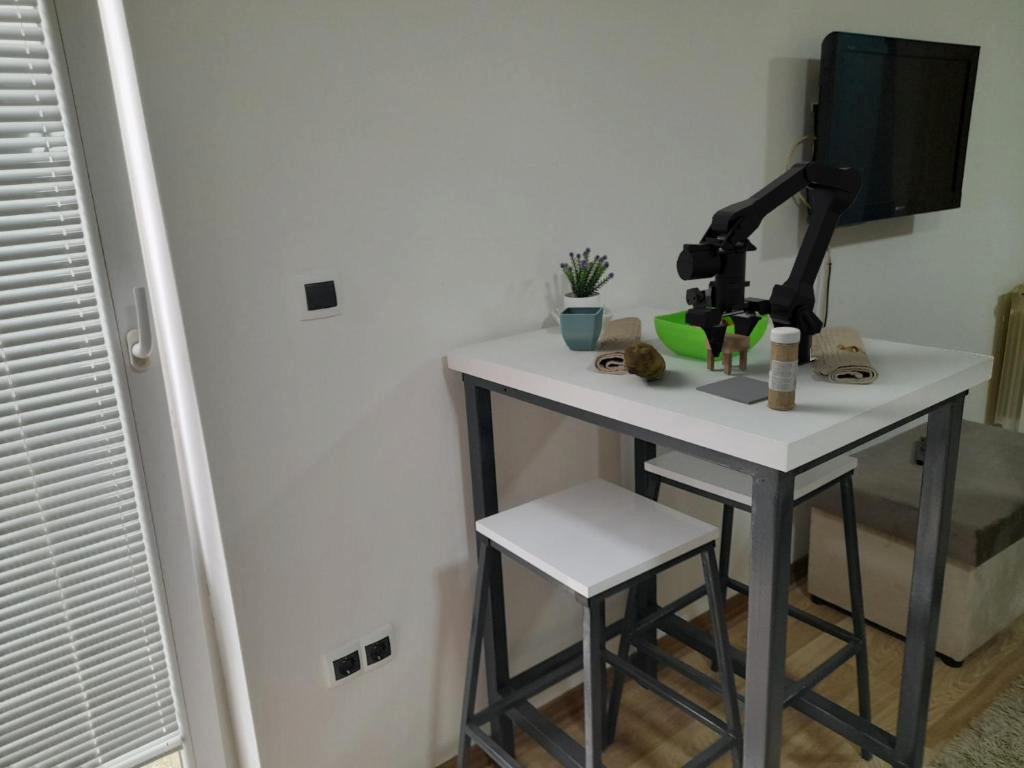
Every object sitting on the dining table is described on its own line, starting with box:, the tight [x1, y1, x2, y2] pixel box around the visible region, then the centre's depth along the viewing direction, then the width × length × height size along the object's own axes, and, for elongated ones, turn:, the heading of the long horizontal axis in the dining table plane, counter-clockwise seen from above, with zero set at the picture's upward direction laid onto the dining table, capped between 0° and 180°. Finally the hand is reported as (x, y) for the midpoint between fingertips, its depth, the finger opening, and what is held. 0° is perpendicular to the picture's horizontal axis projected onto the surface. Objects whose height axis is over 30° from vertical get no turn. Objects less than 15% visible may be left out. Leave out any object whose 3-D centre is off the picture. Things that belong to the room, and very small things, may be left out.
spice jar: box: [766, 327, 800, 411], centre depth 123 cm, size 5×5×13 cm
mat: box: [695, 375, 769, 405], centre depth 135 cm, size 12×12×1 cm
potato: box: [623, 341, 667, 381], centre depth 143 cm, size 8×13×8 cm, turn 137°
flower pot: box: [558, 306, 604, 351], centre depth 170 cm, size 9×9×9 cm
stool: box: [704, 331, 751, 375], centre depth 147 cm, size 6×6×7 cm
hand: (727, 354), depth 147 cm, fingers closed on stool, 6 cm apart
